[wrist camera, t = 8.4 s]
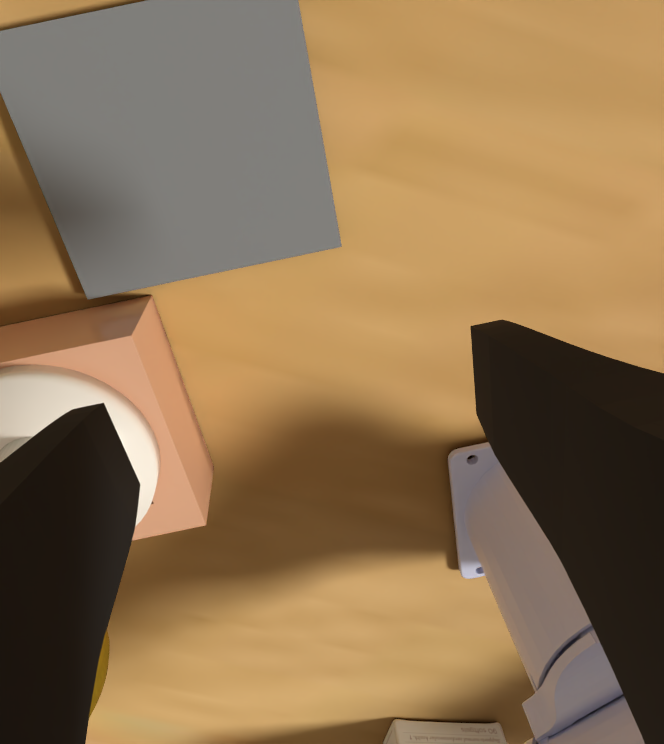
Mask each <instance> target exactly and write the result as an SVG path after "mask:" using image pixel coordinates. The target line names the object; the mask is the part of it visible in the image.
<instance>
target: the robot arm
mask: <svg viewBox="0 0 664 744" xmlns="http://www.w3.org/2000/svg"><path fill="white" fill-rule="evenodd" d="M471 339H472V354H473V368H474V383H475V398H476V413H477V416H478V419H479V421H480V423H481V426H482V428H483V430H484V433H485V435H486V437H487V439H488V442H486V443H482V444H477V445H472V446H467V447H462V448H458V449H455V450H453V451H452V452H451V453H450V454H449V456H448V467H449V477H450V487H451V496H452V506H453V516H454V526H455V536H456V545H457V555H458V565H459V570H460V573H461V576H462V577H464V578H467V579H471V578H476V577H481V576H486V578H487V581H488V583H489V585H490V588H491V590H492V593H493V595H494V597H495V600H496V602H497V604H498V607H499V609H500V611H501V614H502V616H503V618H504V621H505V623H506V625H507V628H508V630H509V632H510V635H511V637H512V639H513V642H514V644H515V647H516V649H517V651H518V654H519V656H520V658H521V661H522V663H523V665H524V668H525V670H526V672H527V675H528V677H529V679H530V682H531V684H532V686H533V689H534V691H535V694H534V695H532V696H531V697H530V698H528V699H527V700H525V701H524V702H523V703H522V707H523V709H524V712H525V714H526V717H527V719H528V722H529V724H530V727H531V729H532V732H533V734H534V738H531V739H529V740H527V741H526V742H525V743H524V744H664V373H660V372H656V371H652V370H649V369H645V368H641V367H638V366H634V365H631V364H628V363H625V362H622V361H618V360H615V359H612V358H609V357H605V356H603V355H600V354H597V353H594V352H591V351H588V350H585V349H582V348H580V347H577V346H574V345H571V344H569V343H566V342H563V341H561V340H558V339H556V338H553V337H550V336H548V335H545V334H543V333H540V332H537V331H535V330H532V329H529V328H527V327H524V326H521V325H519V324H516V323H513V322H509V321H505V320H498V321H493V322H488V323H484V324H479V325H474V326H471ZM471 455H475V456H474V457H473V458H471V459H467V458H468V457H469V456H471ZM139 493H140V482H139V480H138V478H137V475H136V473H135V471H134V469H133V467H132V464H131V462H130V460H129V458H128V455H127V453H126V451H125V449H124V447H123V444H122V442H121V440H120V438H119V435H118V433H117V431H116V429H115V427H114V424H113V422H112V420H111V418H110V415H109V413H108V411H107V409H106V406H105V404H104V403H100V404H95V405H90V406H85V407H80V408H76V409H72V410H70V411H69V412H67V413H65V414H64V415H62V416H61V417H59V418H58V419H56V420H55V421H53V422H52V423H51V424H49V425H48V426H47V427H45V428H44V429H43V430H41V431H40V432H39V433H37V434H36V435H35V436H33V437H32V438H31V439H30V440H28V441H27V442H26V443H24V444H23V445H22V446H21V447H19V448H18V449H17V450H16V451H14V452H13V453H12V454H10V455H9V456H8V457H7V458H5V459H4V460H3V461H2V462H0V744H85V741H86V734H87V727H88V720H89V714H90V708H91V702H92V696H93V690H94V685H95V679H96V673H97V667H98V662H99V657H100V653H101V649H102V645H103V640H104V636H105V633H106V629H107V626H108V622H109V619H110V615H111V612H112V608H113V605H114V602H115V598H116V595H117V591H118V588H119V584H120V581H121V577H122V574H123V570H124V567H125V563H126V560H127V556H128V553H129V549H130V545H131V542H132V538H133V534H134V530H135V525H136V518H137V511H138V502H139ZM480 566H481V567H480ZM478 567H479V568H478Z"/></svg>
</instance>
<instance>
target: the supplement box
mask: <svg viewBox="0 0 664 744" xmlns="http://www.w3.org/2000/svg"><path fill="white" fill-rule="evenodd" d="M383 744H507V742H506V739H505V736H504V732H503V730H502V727H501V725H500V723H498V722H495V723H486V724H481V723H447V722H424V721H408V720H402V719H395V720H393V722H392V724H391V726H390V728H389V730H388V733H387V735H386V737H385V739H384V742H383Z"/></svg>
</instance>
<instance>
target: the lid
mask: <svg viewBox="0 0 664 744" xmlns="http://www.w3.org/2000/svg"><path fill="white" fill-rule="evenodd" d="M100 403H104V404H105V406H106V409H107V411H108V413H109V415H110V418H111V420H112V422H113V424H114V427H115V429H116V431H117V433H118V435H119V438H120V440H121V442H122V444H123V447H124V449H125V451H126V453H127V455H128V458H129V460H130V462H131V464H132V467H133V469H134V471H135V473H136V475H137V478H138V480H139V482H140V493H139V502H138V511H137V518H136V525H137V524H138V523H139V522H140V521H141V520H142V519H143V517H144V516H145V514H146V513H147V511H148V509H149V507H150V505H151V503H152V500H153V496H154V493H155V489H156V485H157V482H158V478H159V474H160V465H161V460H160V450H159V445H158V441H157V439H156V436H155V434H154V431H153V429H152V428H151V426H150V424H149V422H148V421H147V419H146V418H145V417H144V415H143V414H142V413H141V411H140V410H139V409H138V408H137V407H136V406H135V405H134V404H133V403H132V402H131V401H130V400H129V399H128V398H127V397H125V396H124V395H123V394H122V393H120V392H119V391H118V390H116V389H114V388H113V387H111V386H110V385H108V384H107V383H105V382H103V381H100V380H98V379H96V378H94V377H92V376H90V375H87V374H84V373H81V372H79V371H75V370H71V369H67V368H63V367H57V366H50V365H34V364H30V365H16V366H11V367H5V368H1V369H0V462H2V461H3V460H4V459H5V458H7V457H8V456H9V455H10V454H12V453H13V452H14V451H16V450H17V449H18V448H19V447H21V446H22V445H23V444H24V443H26V442H27V441H28V440H30V439H31V438H32V437H33V436H35V435H36V434H37V433H39V432H40V431H41V430H43V429H44V428H45V427H47V426H48V425H49V424H51V423H52V422H53V421H55V420H56V419H58V418H59V417H61V416H62V415H64V414H65V413H67V412H69V411H70V410H72V409H76V408H80V407H85V406H90V405H95V404H100ZM136 525H135V526H136Z"/></svg>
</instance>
